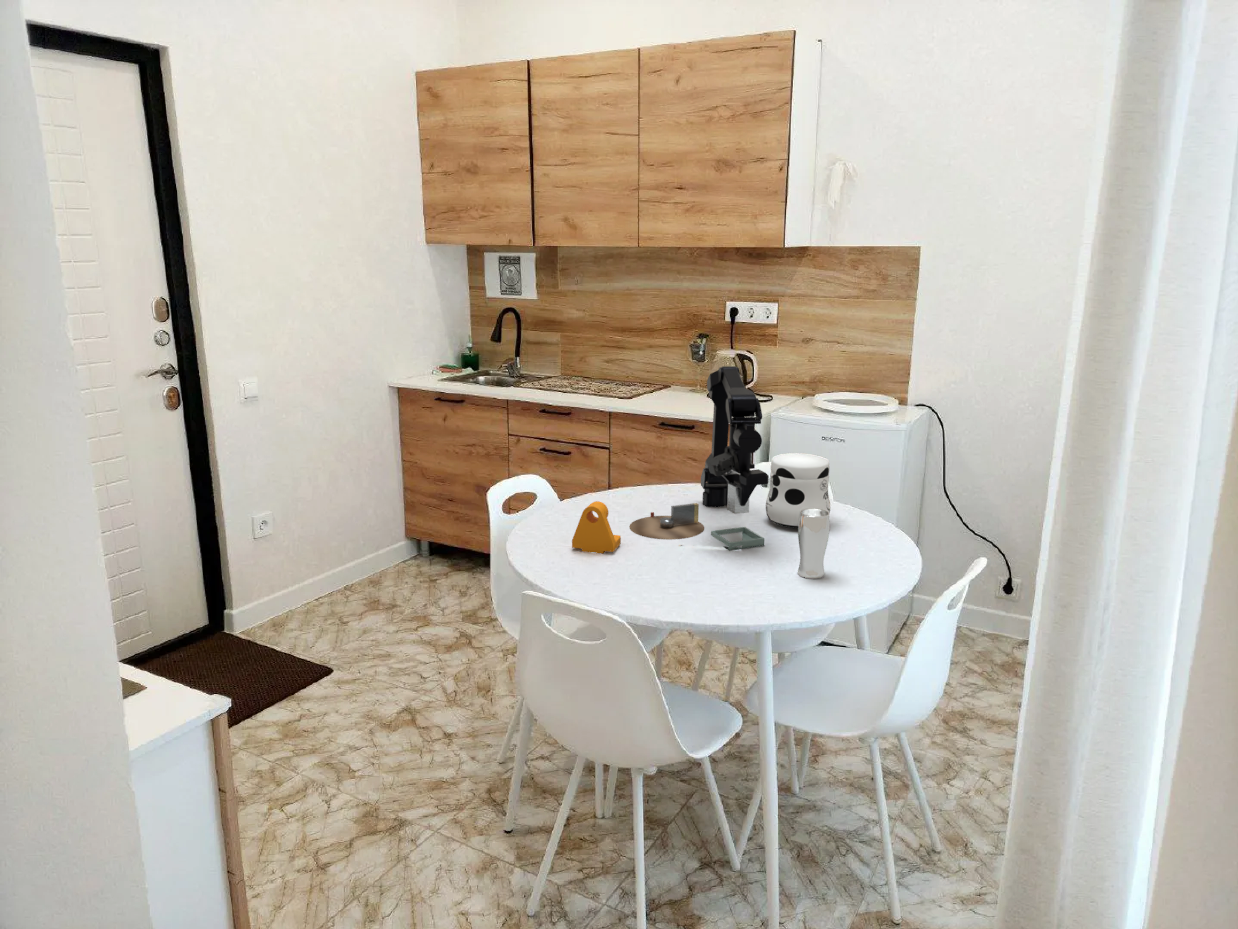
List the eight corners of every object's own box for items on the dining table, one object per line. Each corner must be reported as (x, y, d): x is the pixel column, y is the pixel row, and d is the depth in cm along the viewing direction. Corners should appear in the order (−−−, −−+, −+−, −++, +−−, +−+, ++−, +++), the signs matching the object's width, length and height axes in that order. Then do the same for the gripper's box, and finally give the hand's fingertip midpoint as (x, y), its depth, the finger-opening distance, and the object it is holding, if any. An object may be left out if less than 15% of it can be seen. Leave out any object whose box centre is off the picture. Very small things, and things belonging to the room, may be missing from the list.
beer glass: (793, 568, 205) (796, 507, 201) (823, 569, 205) (827, 508, 201) (798, 579, 198) (801, 516, 195) (829, 580, 198) (833, 517, 194)
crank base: (684, 515, 245) (684, 508, 244) (717, 537, 227) (717, 529, 226) (618, 523, 238) (618, 516, 237) (647, 546, 219) (647, 538, 219)
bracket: (621, 545, 221) (621, 500, 218) (613, 555, 214) (613, 508, 211) (581, 541, 224) (581, 496, 221) (572, 550, 217) (571, 504, 214)
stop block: (740, 508, 224) (741, 481, 222) (748, 512, 220) (749, 485, 218) (727, 509, 222) (728, 483, 221) (734, 514, 219) (735, 487, 217)
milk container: (842, 525, 236) (847, 461, 232) (797, 537, 227) (800, 470, 222) (796, 510, 250) (799, 449, 246) (751, 520, 241) (754, 457, 236)
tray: (744, 534, 229) (744, 526, 229) (764, 545, 220) (764, 538, 220) (710, 538, 226) (711, 531, 225) (729, 550, 217) (729, 543, 216)
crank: (663, 528, 229) (663, 509, 228) (657, 524, 233) (658, 506, 231) (700, 523, 233) (700, 505, 232) (694, 519, 237) (694, 501, 235)
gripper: (695, 438, 222) (693, 496, 226) (730, 454, 206) (728, 517, 209) (733, 435, 226) (731, 492, 230) (771, 450, 209) (768, 512, 213)
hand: (738, 503), depth 221 cm, fingers closed on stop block, 4 cm apart
